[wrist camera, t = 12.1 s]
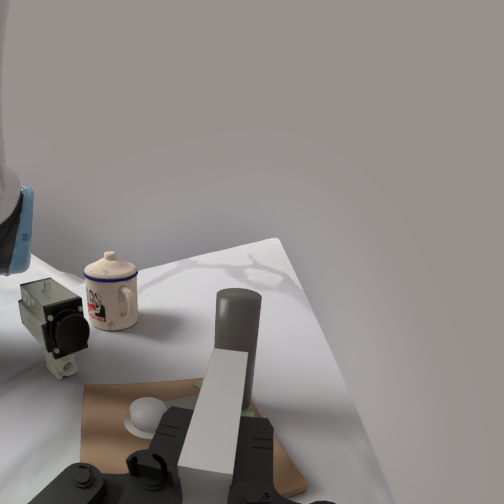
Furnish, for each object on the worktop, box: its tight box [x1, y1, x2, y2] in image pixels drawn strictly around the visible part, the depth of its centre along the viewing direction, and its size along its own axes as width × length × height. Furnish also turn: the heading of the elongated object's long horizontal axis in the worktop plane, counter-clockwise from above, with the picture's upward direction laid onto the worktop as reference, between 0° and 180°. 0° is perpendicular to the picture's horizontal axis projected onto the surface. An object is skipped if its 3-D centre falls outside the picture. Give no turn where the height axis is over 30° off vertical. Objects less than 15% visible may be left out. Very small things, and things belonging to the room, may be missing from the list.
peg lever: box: [130, 288, 262, 433], centre depth 27 cm, size 13×4×12 cm, turn 121°
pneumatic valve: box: [18, 278, 90, 379], centre depth 31 cm, size 6×12×12 cm, turn 59°
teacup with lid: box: [84, 251, 138, 331], centre depth 46 cm, size 12×9×12 cm
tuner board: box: [80, 378, 308, 498], centre depth 25 cm, size 18×18×1 cm
